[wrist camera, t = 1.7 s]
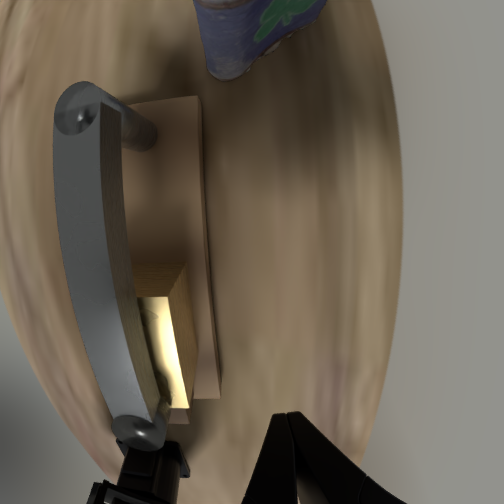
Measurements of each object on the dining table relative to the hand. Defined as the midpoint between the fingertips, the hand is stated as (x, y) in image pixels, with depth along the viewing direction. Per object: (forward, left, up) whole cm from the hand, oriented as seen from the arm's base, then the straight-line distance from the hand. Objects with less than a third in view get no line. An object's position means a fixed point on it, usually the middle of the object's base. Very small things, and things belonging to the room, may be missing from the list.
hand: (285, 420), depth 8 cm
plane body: (+2, +6, -11) cm, 13 cm away
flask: (+17, -1, -11) cm, 20 cm away
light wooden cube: (0, +6, -9) cm, 11 cm away
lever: (+3, +6, -9) cm, 11 cm away
